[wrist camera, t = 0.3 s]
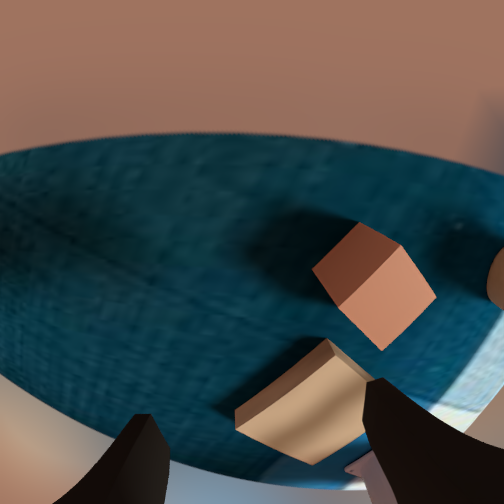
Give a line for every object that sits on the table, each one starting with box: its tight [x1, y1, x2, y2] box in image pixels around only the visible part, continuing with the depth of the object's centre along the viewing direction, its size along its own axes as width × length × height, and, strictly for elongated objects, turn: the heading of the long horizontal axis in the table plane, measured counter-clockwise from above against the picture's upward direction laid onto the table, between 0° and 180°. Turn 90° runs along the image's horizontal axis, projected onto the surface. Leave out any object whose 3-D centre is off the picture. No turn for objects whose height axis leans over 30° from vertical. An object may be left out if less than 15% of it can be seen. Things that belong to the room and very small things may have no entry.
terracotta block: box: [312, 222, 436, 351], centre depth 16 cm, size 4×4×5 cm
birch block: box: [235, 338, 375, 465], centre depth 20 cm, size 9×9×2 cm
